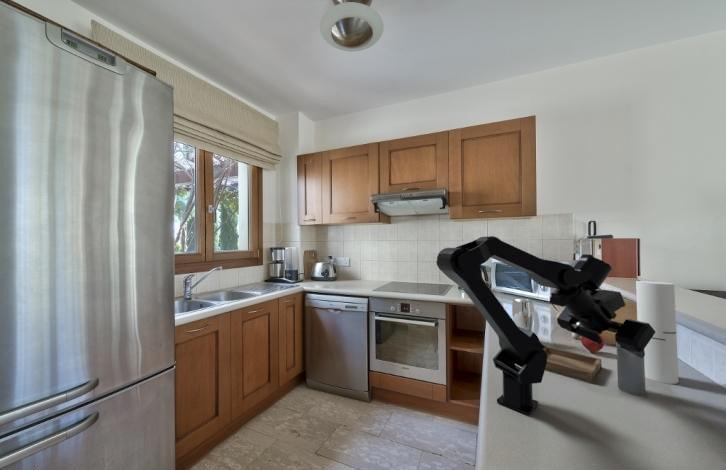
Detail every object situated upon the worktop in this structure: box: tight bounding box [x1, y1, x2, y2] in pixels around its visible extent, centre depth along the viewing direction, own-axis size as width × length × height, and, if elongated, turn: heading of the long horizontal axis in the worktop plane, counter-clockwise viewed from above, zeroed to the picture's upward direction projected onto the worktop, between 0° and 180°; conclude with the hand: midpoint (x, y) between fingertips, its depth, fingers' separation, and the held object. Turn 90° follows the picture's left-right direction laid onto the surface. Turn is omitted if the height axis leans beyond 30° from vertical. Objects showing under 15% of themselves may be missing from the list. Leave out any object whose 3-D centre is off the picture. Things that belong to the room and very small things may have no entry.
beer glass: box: [511, 297, 535, 332], centre depth 102 cm, size 7×7×15 cm
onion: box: [580, 334, 605, 354], centre depth 91 cm, size 6×6×8 cm
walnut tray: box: [544, 345, 602, 385], centre depth 80 cm, size 14×14×2 cm
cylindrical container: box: [635, 280, 679, 385], centre depth 75 cm, size 7×7×25 cm
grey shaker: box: [615, 341, 647, 397], centre depth 67 cm, size 5×5×13 cm
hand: (620, 349), depth 67 cm, fingers open, 9 cm apart
